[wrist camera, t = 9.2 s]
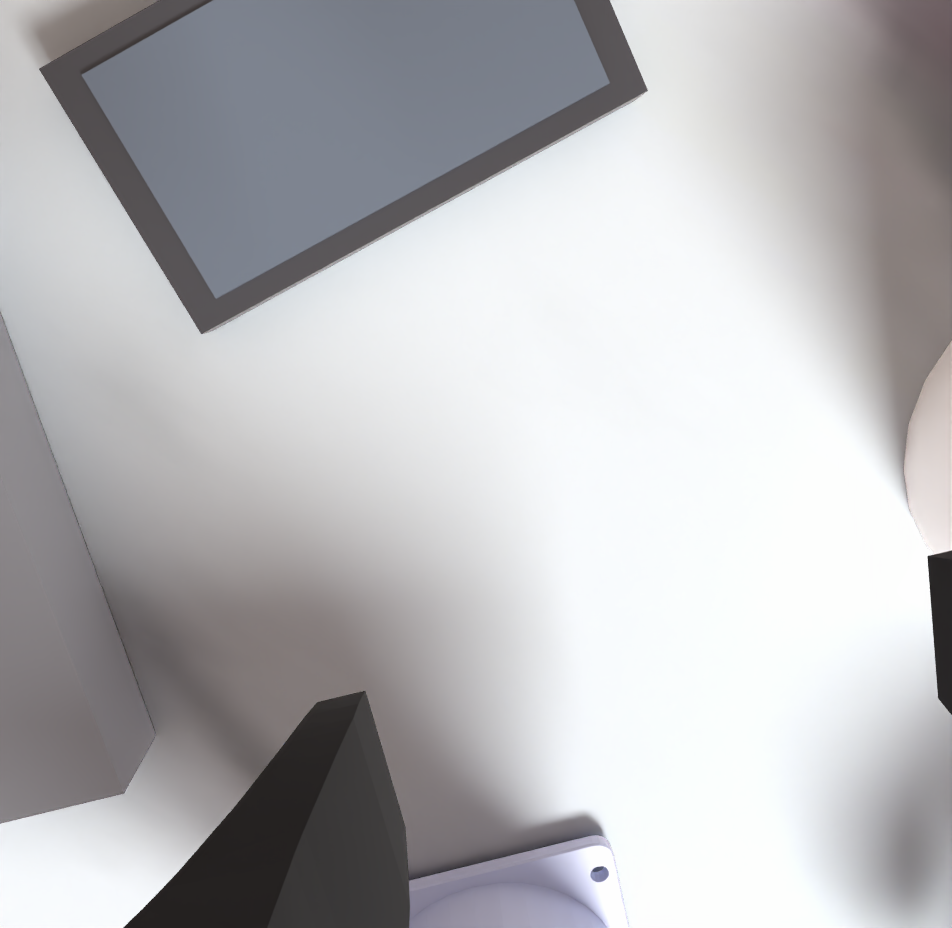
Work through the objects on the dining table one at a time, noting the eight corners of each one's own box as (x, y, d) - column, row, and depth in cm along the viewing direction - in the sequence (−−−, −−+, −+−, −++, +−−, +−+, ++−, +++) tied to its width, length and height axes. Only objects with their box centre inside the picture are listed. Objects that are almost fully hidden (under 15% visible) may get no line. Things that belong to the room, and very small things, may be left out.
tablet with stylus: (708, 60, 18) (727, 47, 17) (212, 330, 19) (200, 334, 17) (555, -321, 16) (565, -363, 15) (7, -6, 17) (-20, -25, 16)
